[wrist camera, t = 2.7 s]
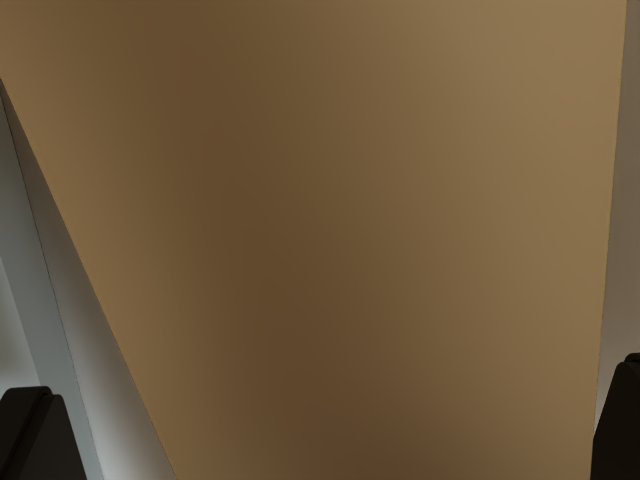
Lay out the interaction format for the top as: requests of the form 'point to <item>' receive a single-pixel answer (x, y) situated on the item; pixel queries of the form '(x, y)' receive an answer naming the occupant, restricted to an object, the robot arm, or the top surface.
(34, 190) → the top surface
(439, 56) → the slat
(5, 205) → the rail base
